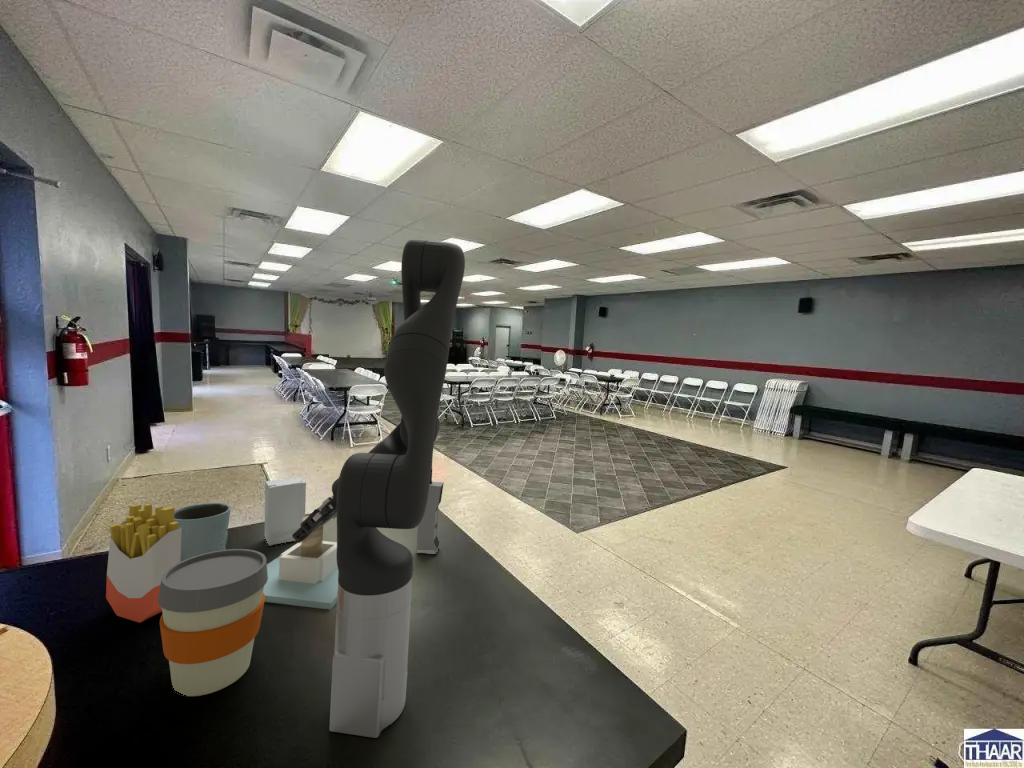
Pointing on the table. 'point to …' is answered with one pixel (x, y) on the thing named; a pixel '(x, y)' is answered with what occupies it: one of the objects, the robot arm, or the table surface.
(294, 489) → the skincare box
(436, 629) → the table surface
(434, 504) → the vintage mobile phone
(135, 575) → the french fries container
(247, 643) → the reusable coffee cup
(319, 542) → the maple peg
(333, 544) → the sleeve holder
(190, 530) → the blue embossed cup
